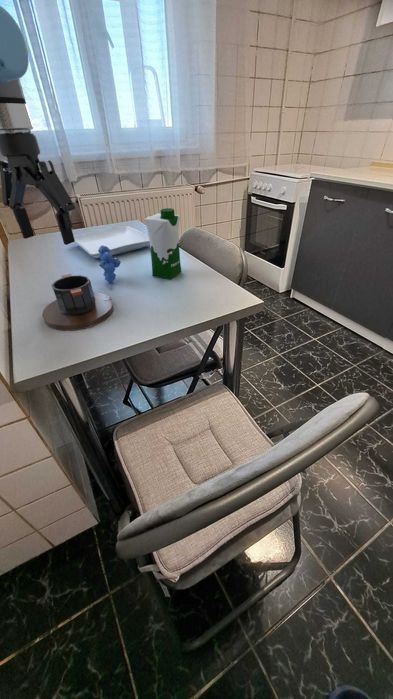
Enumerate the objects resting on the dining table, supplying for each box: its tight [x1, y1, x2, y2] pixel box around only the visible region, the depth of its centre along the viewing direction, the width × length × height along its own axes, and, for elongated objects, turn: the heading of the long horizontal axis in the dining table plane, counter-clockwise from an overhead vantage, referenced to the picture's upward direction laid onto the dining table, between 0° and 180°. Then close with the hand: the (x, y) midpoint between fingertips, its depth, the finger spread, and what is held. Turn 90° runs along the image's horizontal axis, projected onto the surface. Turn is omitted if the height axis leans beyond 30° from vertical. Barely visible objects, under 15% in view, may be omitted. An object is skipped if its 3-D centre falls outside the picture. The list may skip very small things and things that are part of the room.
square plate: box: [73, 225, 150, 259], centre depth 122 cm, size 27×27×4 cm
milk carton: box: [143, 207, 182, 281], centre depth 92 cm, size 9×9×20 cm
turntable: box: [41, 291, 115, 331], centre depth 79 cm, size 18×18×2 cm
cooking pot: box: [51, 273, 96, 315], centre depth 76 cm, size 9×13×7 cm
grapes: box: [98, 245, 122, 283], centre depth 91 cm, size 12×7×12 cm, turn 23°
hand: (48, 240), depth 72 cm, fingers open, 13 cm apart
